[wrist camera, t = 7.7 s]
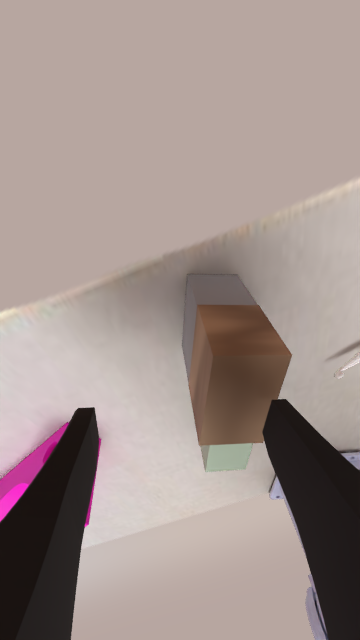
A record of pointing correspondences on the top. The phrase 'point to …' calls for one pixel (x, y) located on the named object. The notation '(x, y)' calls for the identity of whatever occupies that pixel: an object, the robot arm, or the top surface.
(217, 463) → the sage brick
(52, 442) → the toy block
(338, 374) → the toy figurine
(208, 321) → the walnut brick
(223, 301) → the slate brick
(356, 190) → the top surface
